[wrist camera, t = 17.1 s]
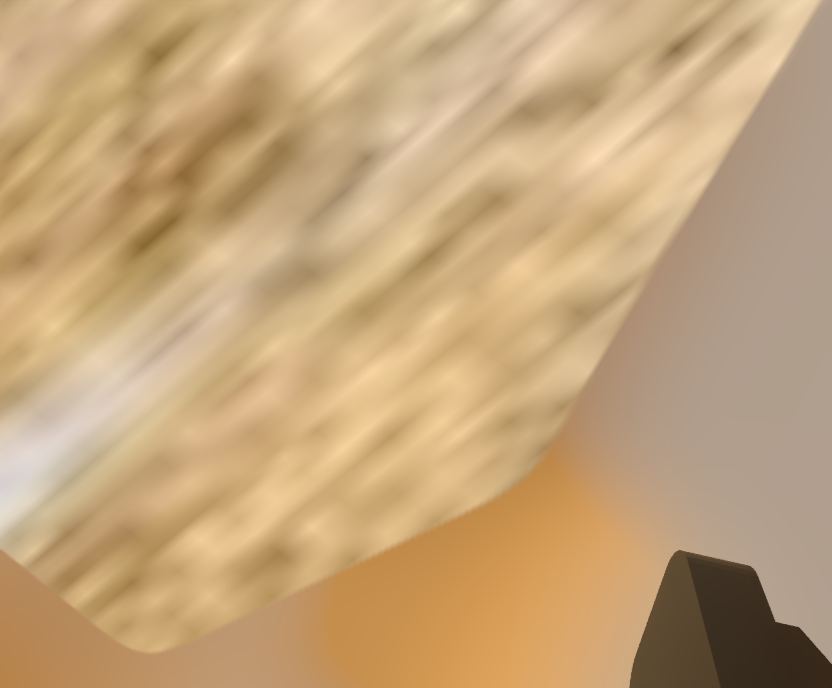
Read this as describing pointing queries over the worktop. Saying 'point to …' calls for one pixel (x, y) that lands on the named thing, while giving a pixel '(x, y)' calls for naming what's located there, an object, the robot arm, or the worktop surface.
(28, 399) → the worktop surface
